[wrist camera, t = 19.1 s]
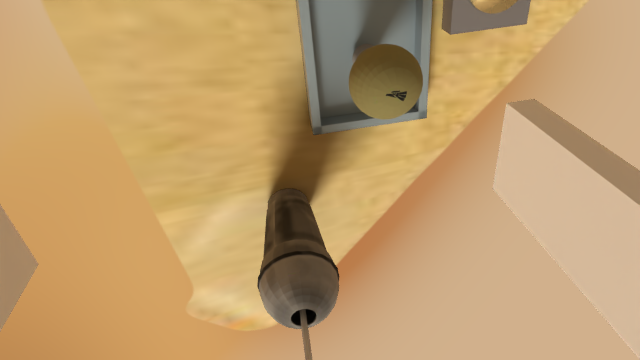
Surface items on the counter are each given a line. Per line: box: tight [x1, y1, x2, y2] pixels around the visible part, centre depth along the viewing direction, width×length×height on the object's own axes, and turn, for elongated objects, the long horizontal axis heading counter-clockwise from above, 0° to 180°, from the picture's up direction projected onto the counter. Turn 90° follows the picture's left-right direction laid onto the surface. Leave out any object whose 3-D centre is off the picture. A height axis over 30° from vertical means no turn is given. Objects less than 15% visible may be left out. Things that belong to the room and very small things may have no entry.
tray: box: [296, 0, 432, 135], centre depth 38 cm, size 13×11×2 cm
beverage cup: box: [258, 189, 339, 360], centre depth 39 cm, size 7×7×20 cm
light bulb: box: [349, 44, 423, 120], centre depth 34 cm, size 6×6×10 cm
